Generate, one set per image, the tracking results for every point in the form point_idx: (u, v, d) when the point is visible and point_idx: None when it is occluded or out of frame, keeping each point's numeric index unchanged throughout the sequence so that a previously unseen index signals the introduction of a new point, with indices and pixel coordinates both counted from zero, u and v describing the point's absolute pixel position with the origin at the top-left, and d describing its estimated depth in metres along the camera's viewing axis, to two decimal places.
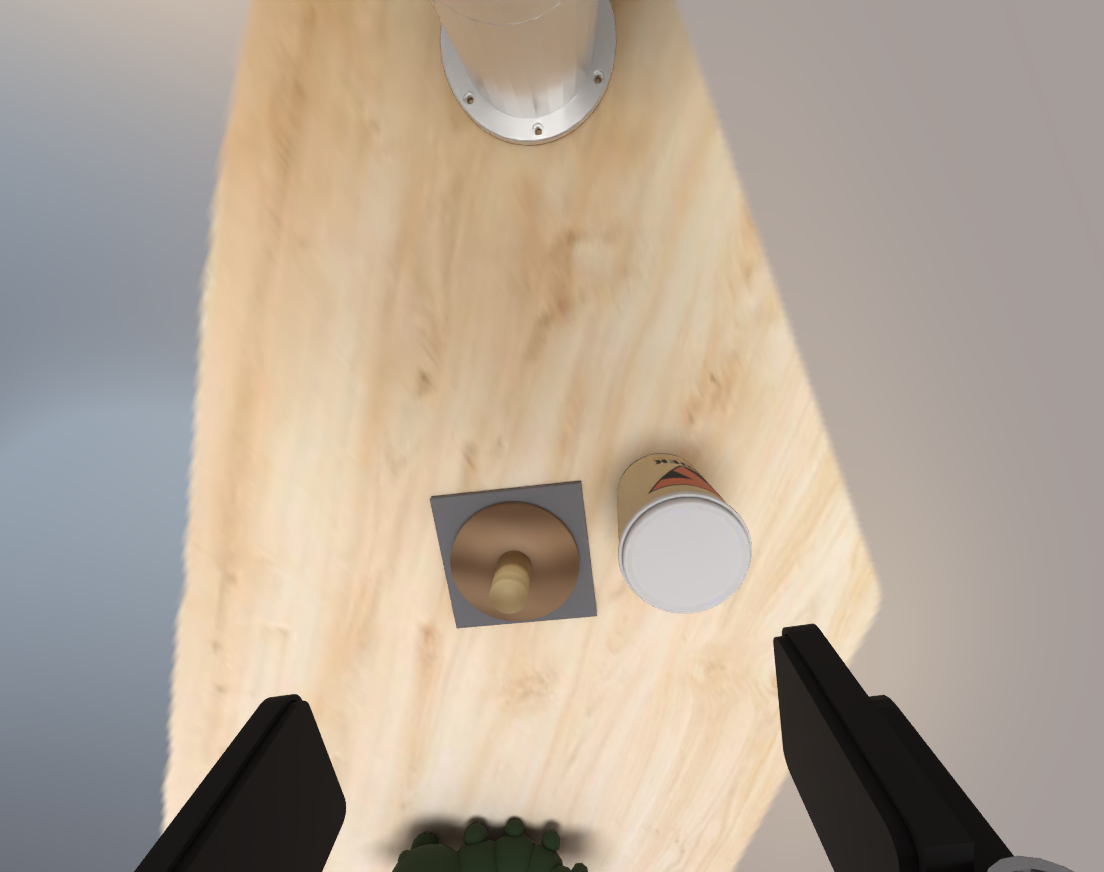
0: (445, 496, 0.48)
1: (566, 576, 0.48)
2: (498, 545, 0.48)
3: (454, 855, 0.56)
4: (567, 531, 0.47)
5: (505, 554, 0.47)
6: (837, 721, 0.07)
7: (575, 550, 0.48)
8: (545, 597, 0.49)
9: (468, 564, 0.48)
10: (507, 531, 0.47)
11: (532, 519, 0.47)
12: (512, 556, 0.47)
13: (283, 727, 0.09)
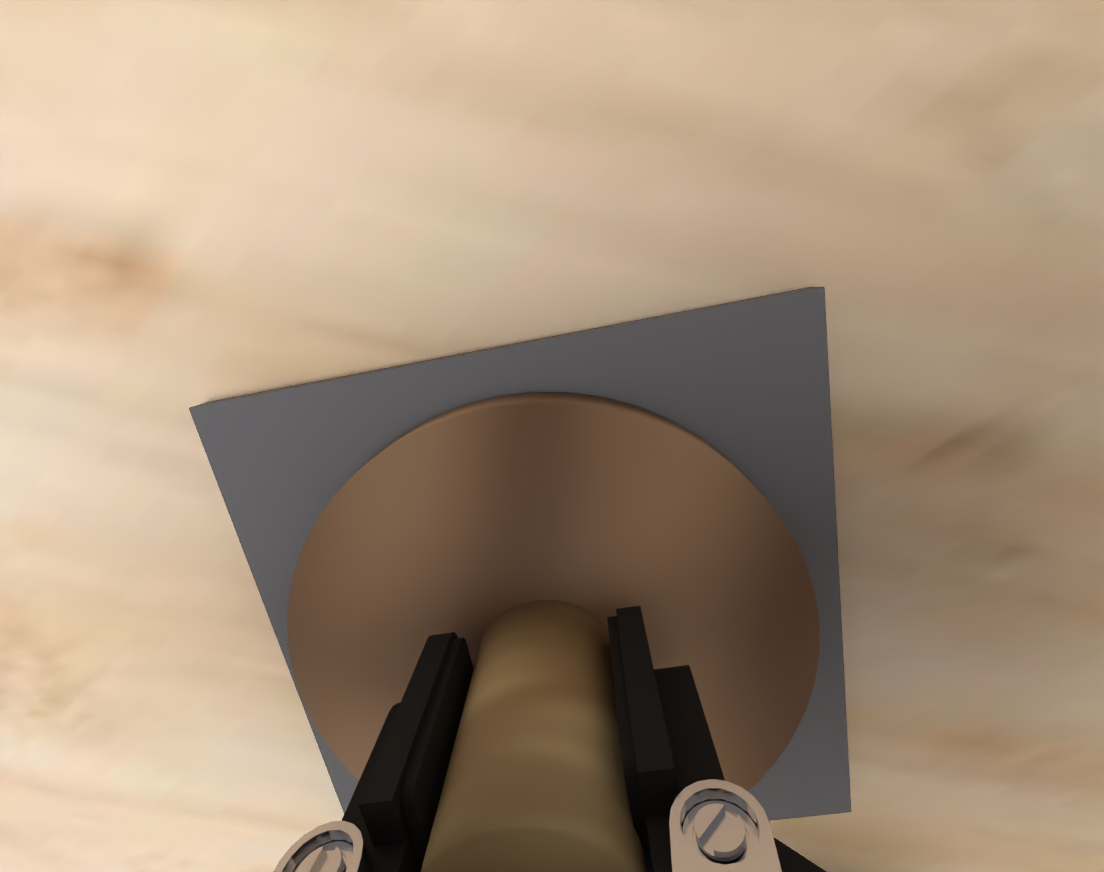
0: (821, 352, 0.11)
1: None
2: (638, 603, 0.11)
3: None
4: None
5: None
6: (621, 682, 0.09)
7: None
8: None
9: (533, 482, 0.11)
10: (705, 634, 0.11)
11: (760, 716, 0.12)
12: None
13: (456, 657, 0.10)
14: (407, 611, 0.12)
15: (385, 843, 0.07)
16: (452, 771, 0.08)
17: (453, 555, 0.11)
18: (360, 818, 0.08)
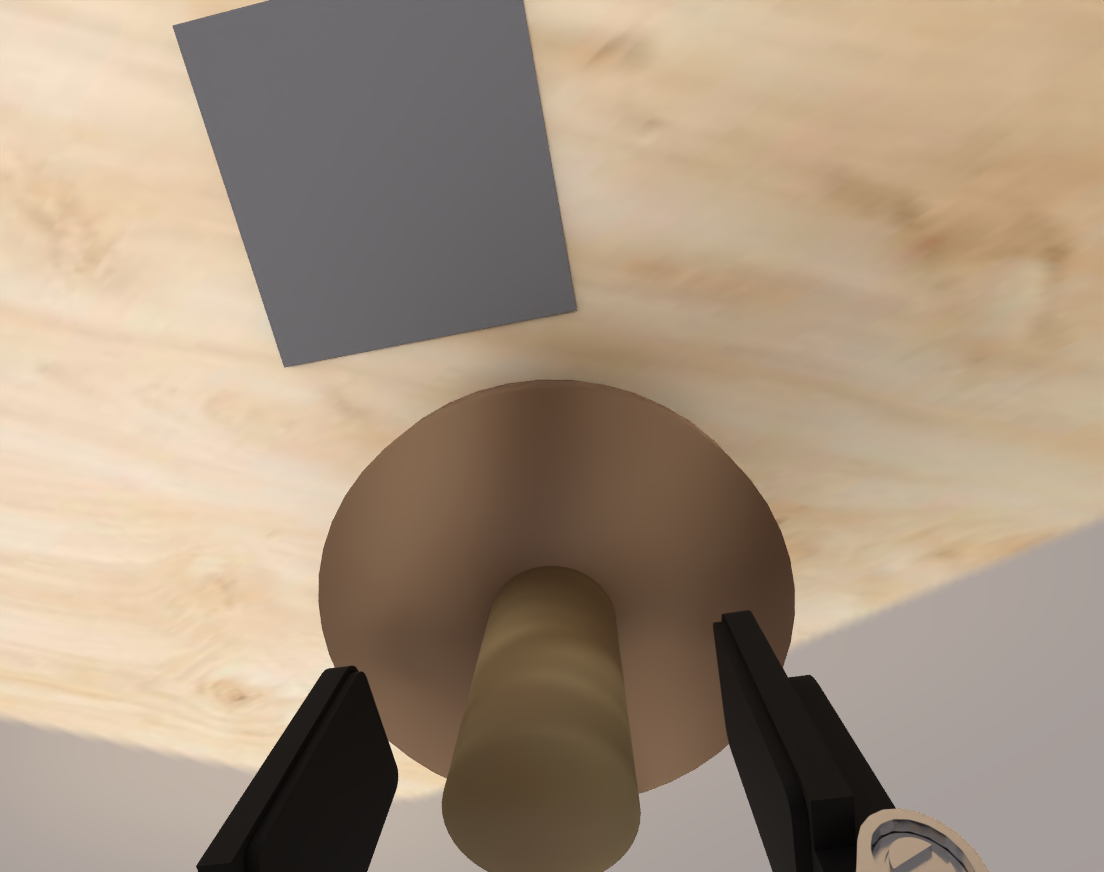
0: None
1: None
2: (633, 569, 0.13)
3: None
4: (686, 763, 0.15)
5: (608, 604, 0.12)
6: (755, 696, 0.08)
7: None
8: (438, 717, 0.14)
9: (541, 459, 0.12)
10: (692, 598, 0.13)
11: None
12: (619, 647, 0.12)
13: (346, 694, 0.10)
14: (427, 576, 0.13)
15: None
16: (472, 700, 0.10)
17: (469, 525, 0.13)
18: None
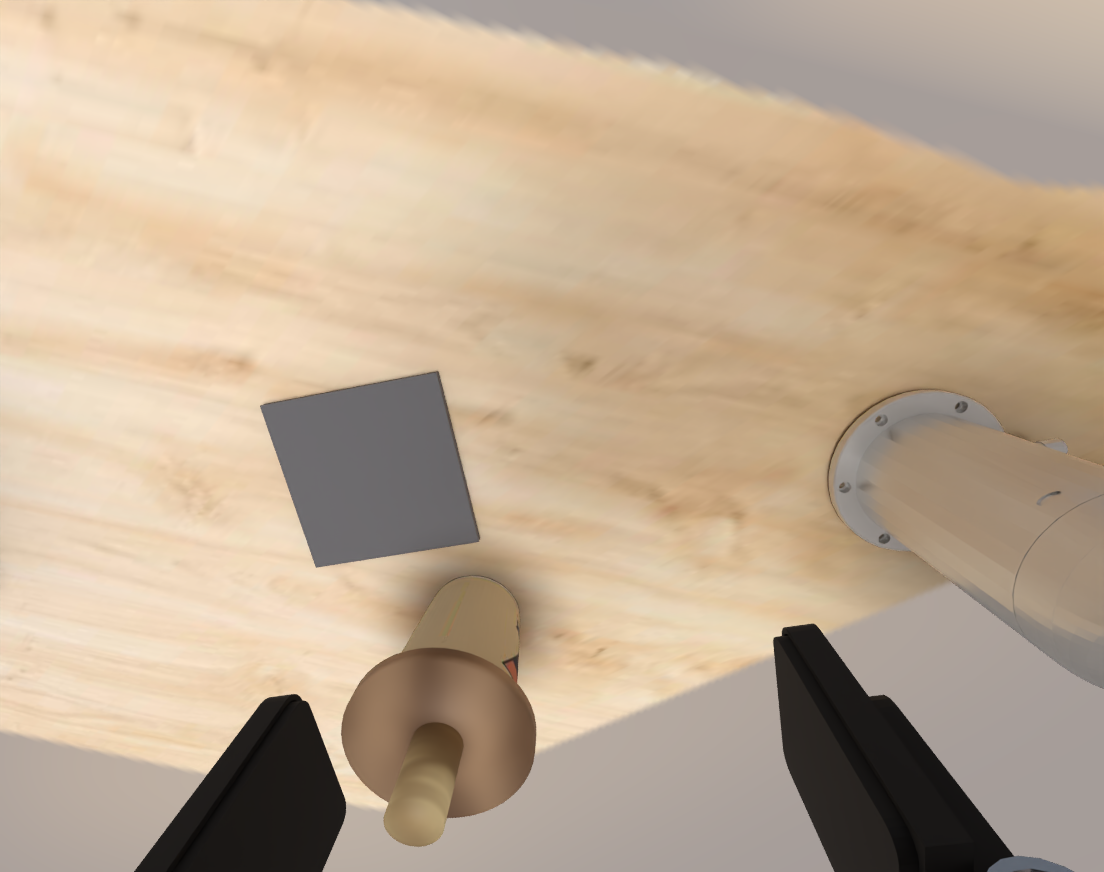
0: (441, 389, 0.39)
1: None
2: (468, 724, 0.32)
3: None
4: (500, 800, 0.33)
5: (457, 739, 0.31)
6: (837, 721, 0.07)
7: (474, 813, 0.33)
8: (391, 780, 0.33)
9: (429, 684, 0.31)
10: (493, 735, 0.32)
11: (517, 764, 0.32)
12: (459, 757, 0.31)
13: (283, 727, 0.09)
14: (385, 725, 0.32)
15: None
16: (396, 785, 0.28)
17: (402, 706, 0.31)
18: None
